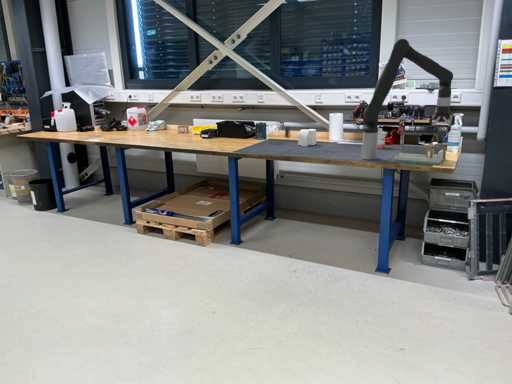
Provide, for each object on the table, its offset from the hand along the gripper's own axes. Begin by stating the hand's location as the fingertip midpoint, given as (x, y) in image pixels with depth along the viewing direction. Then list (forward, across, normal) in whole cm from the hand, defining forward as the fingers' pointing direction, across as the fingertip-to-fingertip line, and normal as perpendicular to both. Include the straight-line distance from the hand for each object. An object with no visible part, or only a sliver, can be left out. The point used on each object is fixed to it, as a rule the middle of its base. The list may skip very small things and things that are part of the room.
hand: (440, 132), depth 250 cm
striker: (+15, +2, -6) cm, 16 cm away
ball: (+14, 0, -11) cm, 18 cm away
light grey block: (+18, -101, +18) cm, 105 cm away
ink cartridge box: (+18, -47, +27) cm, 57 cm away
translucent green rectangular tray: (+17, -9, -7) cm, 21 cm away
